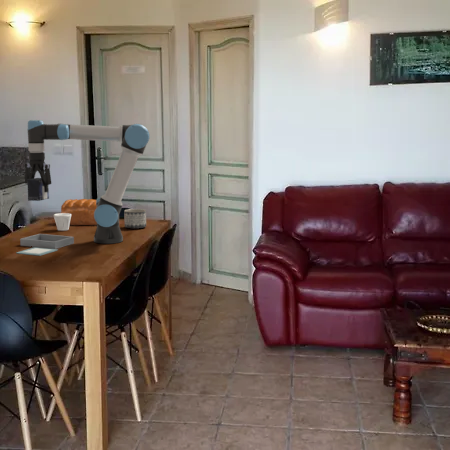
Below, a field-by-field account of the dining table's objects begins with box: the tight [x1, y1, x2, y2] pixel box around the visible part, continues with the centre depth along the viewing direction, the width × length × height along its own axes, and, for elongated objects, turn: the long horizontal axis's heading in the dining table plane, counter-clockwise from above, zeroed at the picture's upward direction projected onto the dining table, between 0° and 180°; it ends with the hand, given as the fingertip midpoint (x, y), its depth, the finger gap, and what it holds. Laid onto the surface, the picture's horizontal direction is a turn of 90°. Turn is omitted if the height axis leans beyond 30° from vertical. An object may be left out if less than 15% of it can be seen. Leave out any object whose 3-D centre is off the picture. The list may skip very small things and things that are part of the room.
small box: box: [27, 177, 50, 202], centre depth 326 cm, size 11×6×10 cm, turn 168°
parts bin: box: [19, 233, 75, 249], centre depth 339 cm, size 22×16×4 cm
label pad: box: [16, 247, 59, 257], centre depth 321 cm, size 14×14×1 cm
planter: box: [123, 208, 147, 230], centre depth 389 cm, size 13×13×10 cm
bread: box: [60, 198, 97, 226], centre depth 402 cm, size 14×26×16 cm, turn 88°
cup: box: [53, 212, 71, 232], centre depth 380 cm, size 10×10×9 cm
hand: (38, 198), depth 327 cm, fingers closed on small box, 7 cm apart
